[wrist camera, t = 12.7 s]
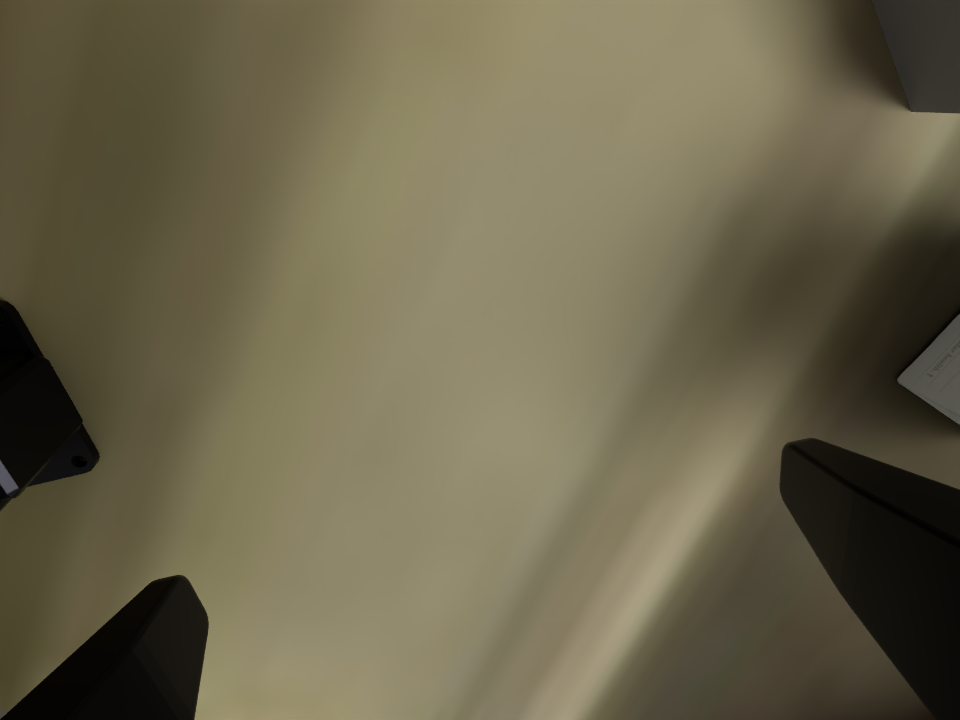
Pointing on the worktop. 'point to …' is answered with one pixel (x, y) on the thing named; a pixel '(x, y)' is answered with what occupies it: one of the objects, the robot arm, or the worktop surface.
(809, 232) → the worktop surface
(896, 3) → the light gray block
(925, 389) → the supplement box
